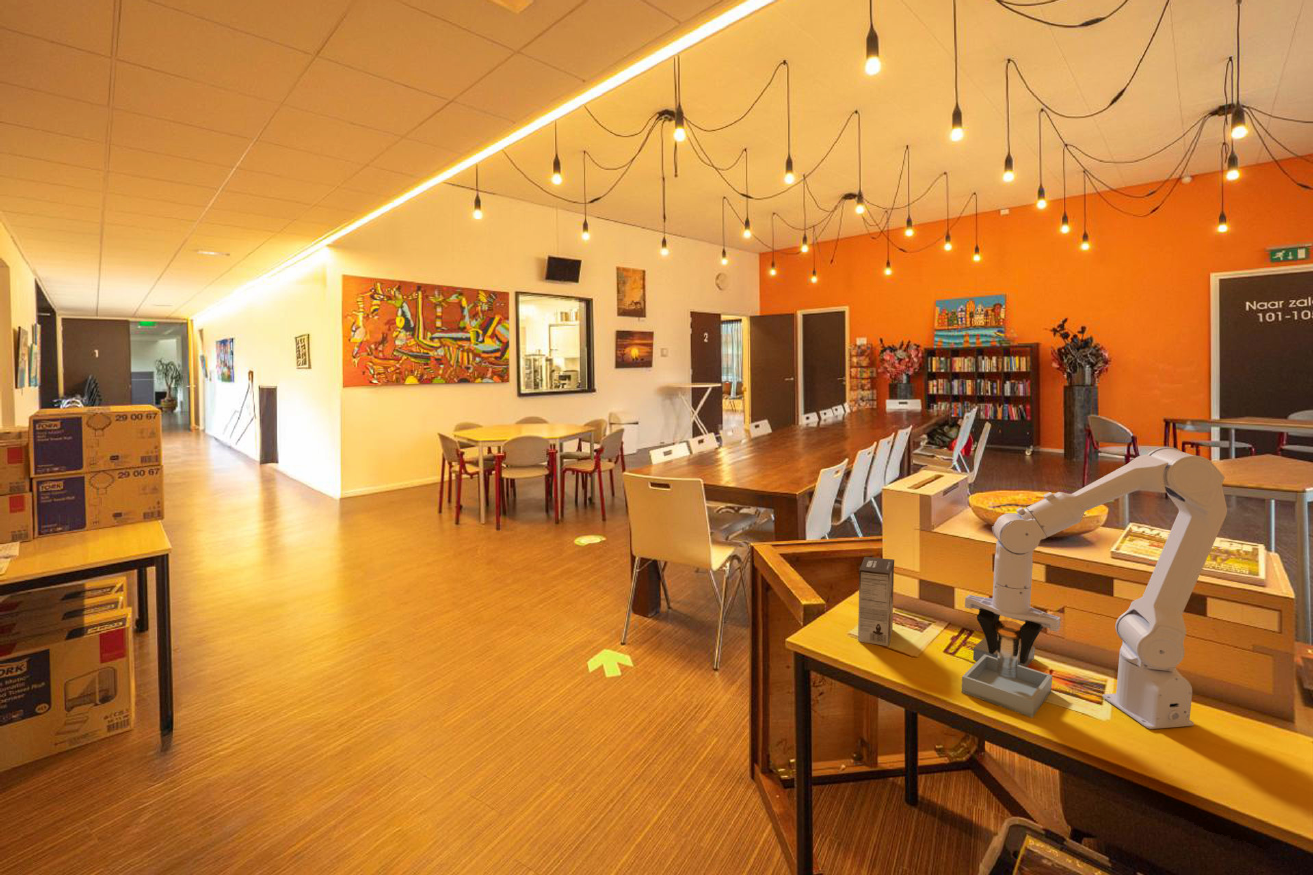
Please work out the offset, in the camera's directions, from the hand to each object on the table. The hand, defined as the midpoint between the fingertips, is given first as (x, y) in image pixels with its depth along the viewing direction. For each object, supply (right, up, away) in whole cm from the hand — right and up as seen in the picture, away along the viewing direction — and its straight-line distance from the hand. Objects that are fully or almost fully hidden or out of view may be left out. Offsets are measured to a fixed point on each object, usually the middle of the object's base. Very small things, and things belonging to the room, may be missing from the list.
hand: (1008, 656), depth 108 cm
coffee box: (-15, -4, +24) cm, 28 cm away
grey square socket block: (+6, -5, +12) cm, 15 cm away
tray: (0, -7, +1) cm, 7 cm away
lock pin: (0, -3, +1) cm, 4 cm away
